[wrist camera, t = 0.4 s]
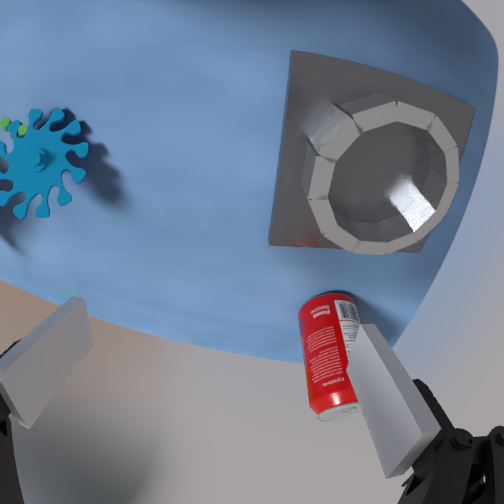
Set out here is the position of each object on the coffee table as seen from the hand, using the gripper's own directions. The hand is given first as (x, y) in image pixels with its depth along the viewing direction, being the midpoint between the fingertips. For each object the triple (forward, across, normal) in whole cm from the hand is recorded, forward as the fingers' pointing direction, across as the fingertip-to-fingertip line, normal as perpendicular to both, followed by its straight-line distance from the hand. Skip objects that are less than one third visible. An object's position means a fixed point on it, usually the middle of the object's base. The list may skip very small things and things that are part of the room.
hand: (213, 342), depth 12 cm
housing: (+14, +12, +9) cm, 20 cm away
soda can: (+23, +12, -9) cm, 27 cm away
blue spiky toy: (+12, -18, +10) cm, 24 cm away
